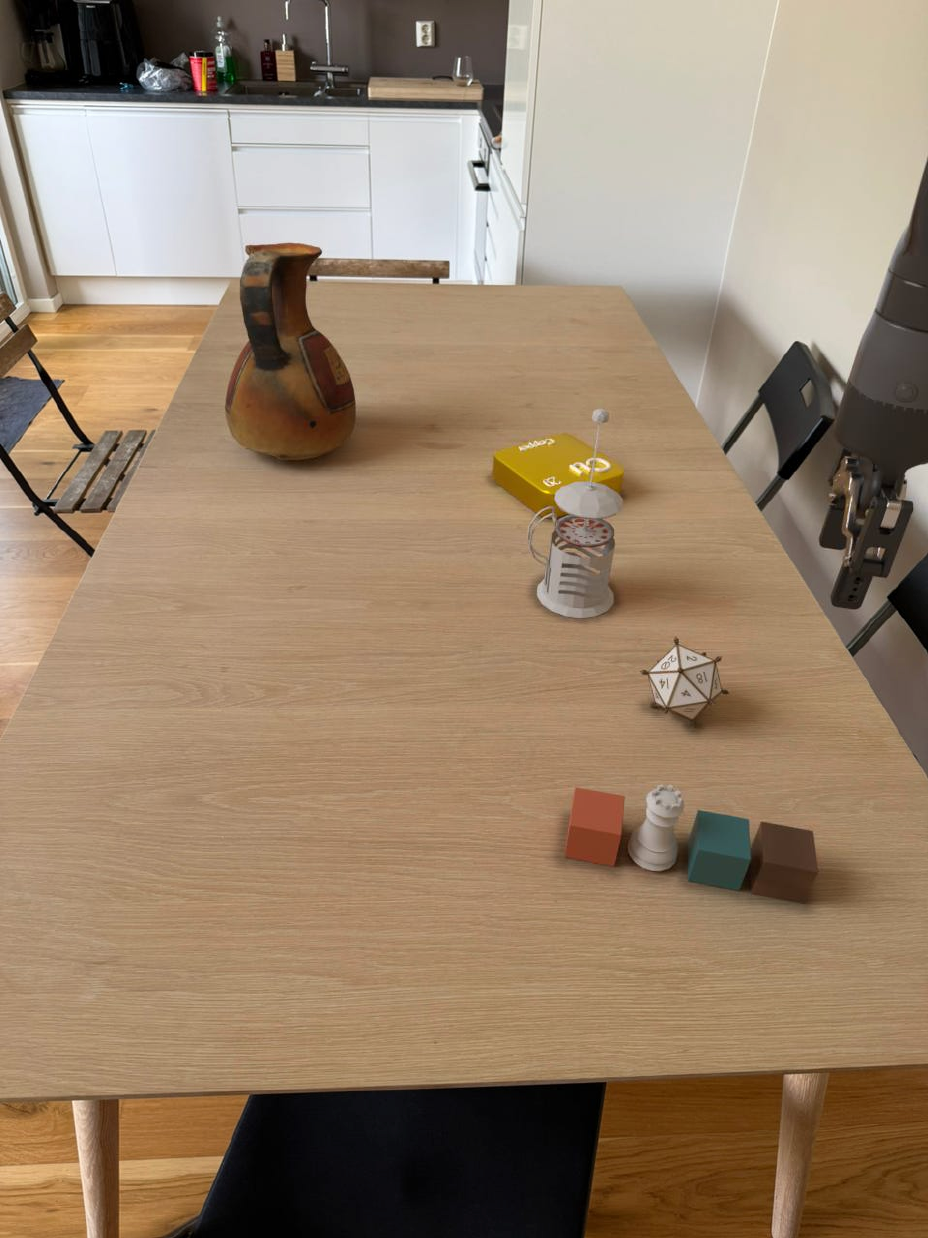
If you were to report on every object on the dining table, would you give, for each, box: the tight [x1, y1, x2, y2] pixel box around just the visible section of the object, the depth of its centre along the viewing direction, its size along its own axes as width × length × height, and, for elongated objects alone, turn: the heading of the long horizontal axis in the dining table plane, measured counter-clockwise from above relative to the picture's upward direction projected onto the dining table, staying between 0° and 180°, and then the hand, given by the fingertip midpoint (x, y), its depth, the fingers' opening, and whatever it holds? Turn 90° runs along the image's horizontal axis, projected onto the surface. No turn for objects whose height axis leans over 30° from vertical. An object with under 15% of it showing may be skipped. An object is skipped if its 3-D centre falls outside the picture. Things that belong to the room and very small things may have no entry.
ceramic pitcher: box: [224, 242, 357, 461], centre depth 132 cm, size 20×20×30 cm
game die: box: [639, 636, 731, 729], centre depth 94 cm, size 9×8×10 cm
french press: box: [526, 408, 624, 619], centre depth 104 cm, size 10×12×25 cm
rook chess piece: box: [627, 784, 685, 872], centre depth 78 cm, size 4×4×8 cm
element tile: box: [491, 432, 625, 519], centre depth 132 cm, size 15×15×5 cm
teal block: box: [687, 809, 752, 892], centre depth 79 cm, size 4×4×4 cm
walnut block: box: [749, 821, 819, 904], centre depth 78 cm, size 4×4×4 cm
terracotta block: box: [564, 787, 626, 868], centre depth 80 cm, size 4×4×4 cm
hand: (837, 574), depth 71 cm, fingers open, 8 cm apart
